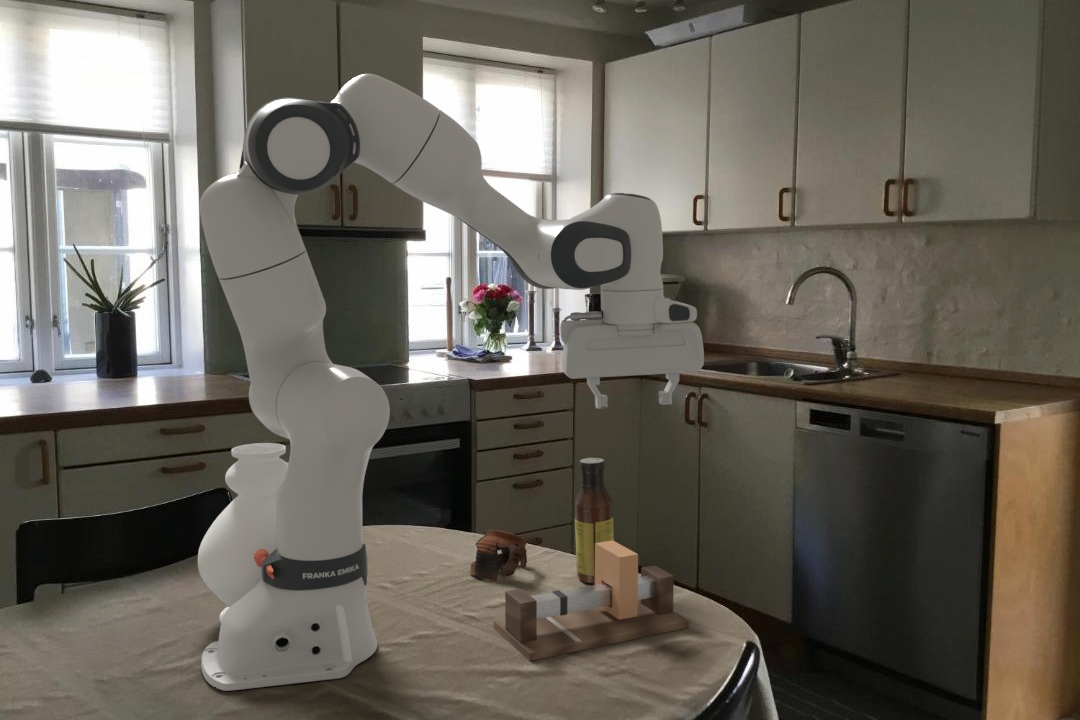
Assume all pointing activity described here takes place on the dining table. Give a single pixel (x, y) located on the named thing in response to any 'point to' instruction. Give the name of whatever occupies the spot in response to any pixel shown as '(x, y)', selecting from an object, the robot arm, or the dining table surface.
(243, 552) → the decorative vase
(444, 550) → the dining table surface
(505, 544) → the broken clay pot
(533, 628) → the rod stand
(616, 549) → the collar
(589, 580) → the sauce bottle
